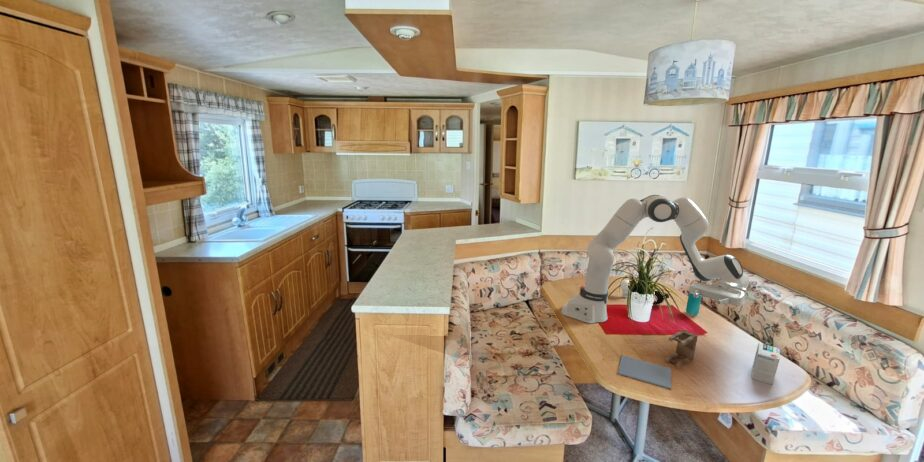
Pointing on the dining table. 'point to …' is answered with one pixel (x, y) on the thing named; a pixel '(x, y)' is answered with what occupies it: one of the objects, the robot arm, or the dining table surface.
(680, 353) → the stool
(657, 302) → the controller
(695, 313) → the beverage can
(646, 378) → the mat
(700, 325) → the dining table surface
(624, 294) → the lightbulb
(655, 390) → the dining table surface
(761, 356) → the light bulb box
